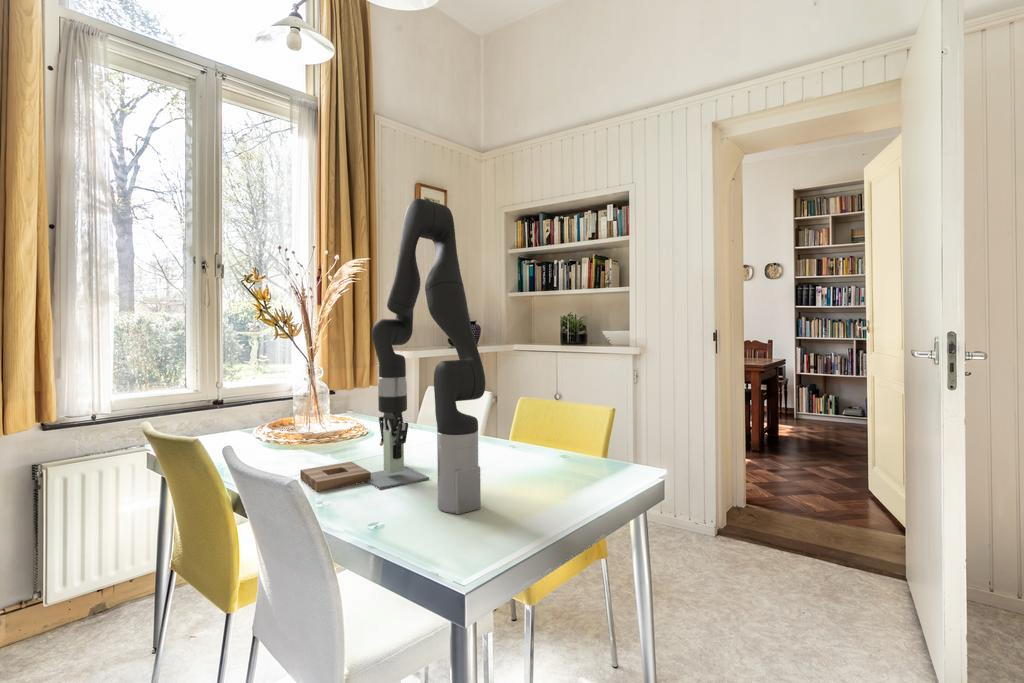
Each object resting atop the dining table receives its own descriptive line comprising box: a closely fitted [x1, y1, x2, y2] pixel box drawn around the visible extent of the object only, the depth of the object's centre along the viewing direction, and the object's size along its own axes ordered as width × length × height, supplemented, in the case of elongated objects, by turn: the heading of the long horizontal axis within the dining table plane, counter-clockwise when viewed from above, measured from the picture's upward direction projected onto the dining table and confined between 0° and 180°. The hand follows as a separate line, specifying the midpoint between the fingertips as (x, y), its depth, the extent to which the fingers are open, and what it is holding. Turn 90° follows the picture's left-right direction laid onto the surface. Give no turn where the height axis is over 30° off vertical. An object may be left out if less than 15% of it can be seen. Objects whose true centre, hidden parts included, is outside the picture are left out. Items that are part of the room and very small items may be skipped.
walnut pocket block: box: [299, 461, 372, 493], centre depth 141 cm, size 14×14×2 cm
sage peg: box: [383, 430, 405, 473], centre depth 143 cm, size 4×4×11 cm
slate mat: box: [366, 465, 430, 490], centre depth 143 cm, size 14×14×1 cm
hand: (393, 456), depth 143 cm, fingers closed on sage peg, 4 cm apart
